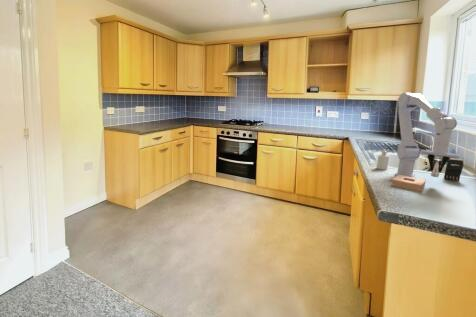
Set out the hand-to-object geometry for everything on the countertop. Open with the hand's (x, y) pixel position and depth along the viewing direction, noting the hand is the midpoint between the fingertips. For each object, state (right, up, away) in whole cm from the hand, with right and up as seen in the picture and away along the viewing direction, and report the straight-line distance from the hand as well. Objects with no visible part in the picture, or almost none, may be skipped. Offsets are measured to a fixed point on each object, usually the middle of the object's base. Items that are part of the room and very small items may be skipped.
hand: (435, 171), depth 135 cm
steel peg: (0, -2, +1) cm, 2 cm away
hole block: (-12, -7, +1) cm, 14 cm away
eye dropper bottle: (-10, 0, +31) cm, 33 cm away
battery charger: (+18, -5, +14) cm, 23 cm away
